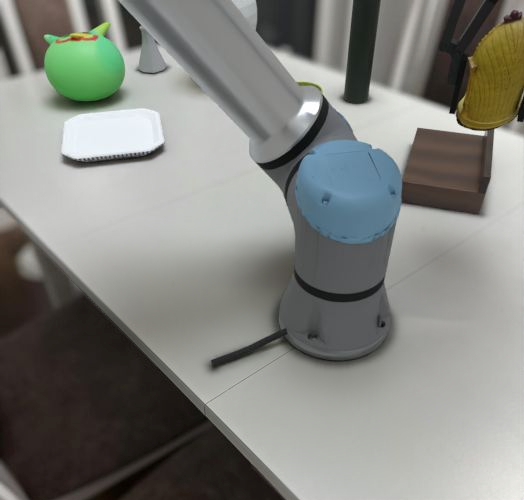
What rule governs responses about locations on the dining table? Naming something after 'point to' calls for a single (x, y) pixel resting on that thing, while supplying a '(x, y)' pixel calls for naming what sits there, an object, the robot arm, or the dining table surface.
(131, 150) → the plate
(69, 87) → the toy bird
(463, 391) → the dining table surface
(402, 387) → the dining table surface
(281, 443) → the dining table surface
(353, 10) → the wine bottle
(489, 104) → the yellow curved piece
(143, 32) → the flask
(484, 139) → the brown boxy piece
